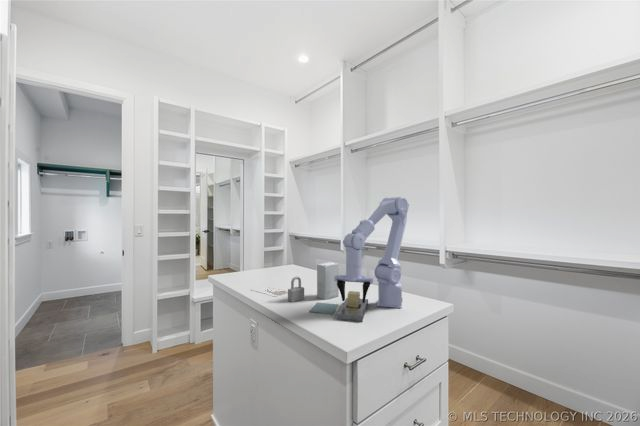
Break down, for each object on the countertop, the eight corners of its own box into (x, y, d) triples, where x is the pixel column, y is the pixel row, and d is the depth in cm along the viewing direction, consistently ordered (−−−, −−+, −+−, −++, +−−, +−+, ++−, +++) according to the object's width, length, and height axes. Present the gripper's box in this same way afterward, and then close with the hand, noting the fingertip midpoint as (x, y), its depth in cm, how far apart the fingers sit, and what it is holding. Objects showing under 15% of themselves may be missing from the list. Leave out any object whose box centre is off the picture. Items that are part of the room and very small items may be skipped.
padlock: (299, 297, 126) (299, 274, 126) (305, 299, 124) (305, 276, 124) (286, 300, 121) (286, 277, 121) (293, 302, 118) (293, 278, 118)
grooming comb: (291, 292, 135) (290, 291, 135) (274, 297, 127) (274, 296, 127) (265, 286, 146) (265, 285, 146) (249, 291, 138) (249, 289, 138)
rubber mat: (338, 305, 115) (338, 304, 115) (332, 314, 104) (332, 313, 104) (317, 303, 117) (317, 302, 117) (308, 312, 107) (308, 311, 107)
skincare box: (330, 293, 132) (330, 261, 132) (339, 296, 127) (339, 263, 127) (316, 297, 126) (316, 263, 127) (325, 300, 122) (325, 265, 122)
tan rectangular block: (359, 310, 109) (359, 291, 109) (358, 313, 105) (358, 294, 105) (349, 309, 110) (349, 291, 110) (347, 312, 106) (347, 293, 106)
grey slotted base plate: (368, 304, 116) (368, 299, 116) (362, 321, 97) (362, 316, 97) (346, 302, 118) (346, 297, 119) (336, 319, 99) (336, 313, 99)
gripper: (332, 266, 106) (332, 302, 106) (372, 268, 102) (372, 306, 102) (336, 263, 113) (336, 297, 113) (373, 264, 109) (373, 300, 109)
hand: (353, 301), depth 108 cm, fingers open, 7 cm apart
